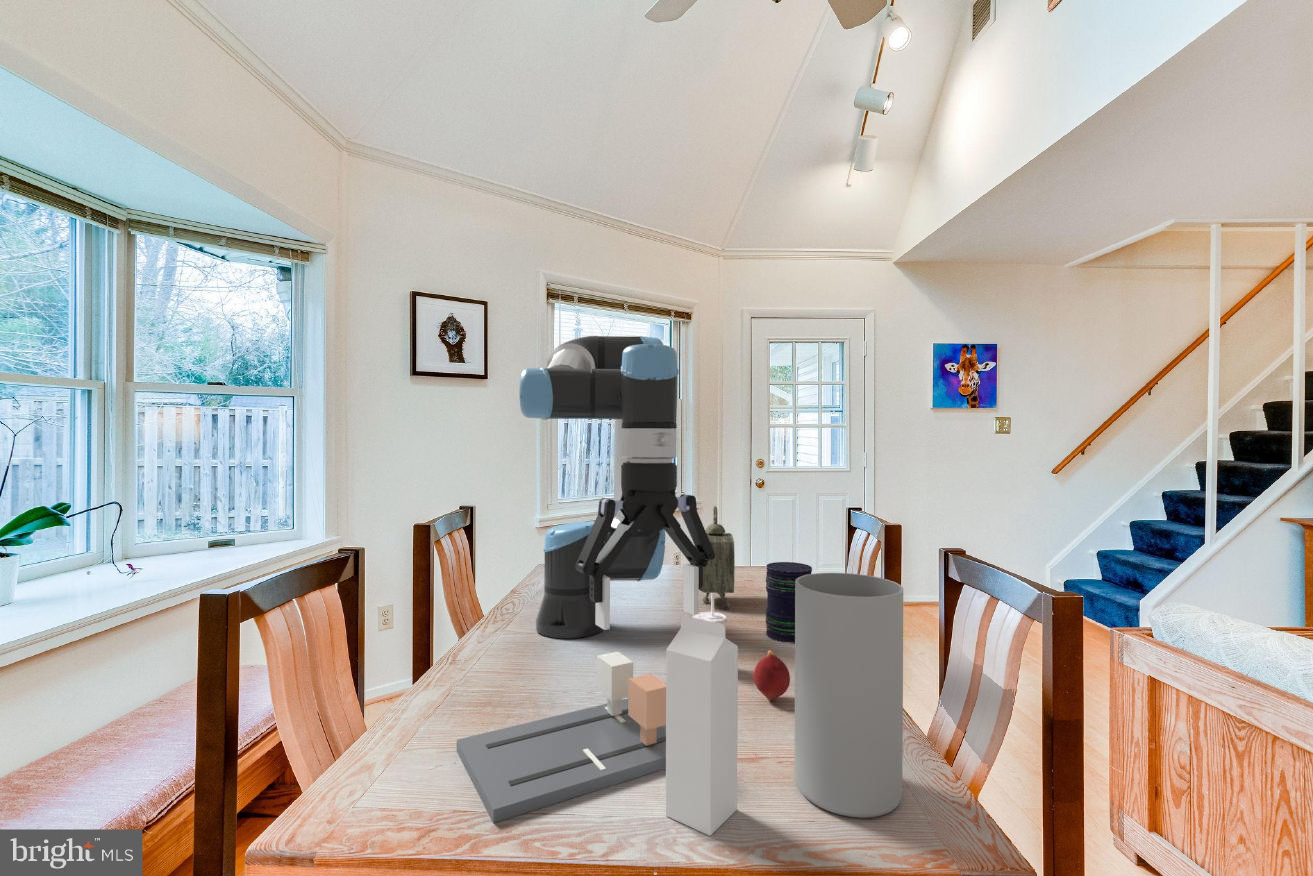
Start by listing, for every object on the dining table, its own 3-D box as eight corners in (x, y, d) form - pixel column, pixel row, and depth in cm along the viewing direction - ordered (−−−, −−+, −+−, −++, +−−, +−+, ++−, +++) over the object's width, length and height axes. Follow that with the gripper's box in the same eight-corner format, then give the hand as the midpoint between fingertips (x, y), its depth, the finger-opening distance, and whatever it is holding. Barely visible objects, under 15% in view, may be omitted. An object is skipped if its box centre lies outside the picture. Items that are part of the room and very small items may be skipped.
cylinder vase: (846, 834, 66) (847, 602, 66) (773, 776, 77) (774, 578, 77) (925, 802, 72) (926, 589, 72) (847, 753, 83) (848, 569, 83)
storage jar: (760, 639, 129) (761, 569, 129) (770, 626, 139) (770, 560, 139) (808, 645, 126) (809, 573, 126) (815, 631, 135) (815, 564, 135)
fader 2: (628, 737, 83) (628, 678, 83) (650, 730, 85) (650, 673, 85) (646, 753, 79) (646, 691, 79) (669, 746, 81) (669, 686, 81)
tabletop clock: (734, 611, 150) (734, 509, 150) (697, 611, 150) (697, 509, 150) (728, 596, 165) (728, 503, 165) (694, 595, 165) (695, 503, 165)
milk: (694, 792, 74) (695, 609, 74) (738, 810, 70) (739, 618, 70) (664, 817, 69) (665, 620, 69) (710, 838, 65) (711, 631, 65)
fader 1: (596, 708, 92) (596, 655, 92) (617, 703, 94) (617, 651, 94) (611, 722, 88) (611, 666, 88) (632, 716, 89) (633, 662, 89)
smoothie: (725, 676, 109) (725, 598, 109) (689, 673, 110) (689, 596, 110) (728, 663, 115) (728, 589, 115) (694, 661, 117) (694, 587, 117)
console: (456, 750, 83) (456, 738, 83) (637, 705, 97) (637, 695, 97) (493, 823, 67) (493, 808, 67) (702, 756, 82) (702, 744, 82)
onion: (791, 695, 101) (791, 647, 101) (787, 710, 96) (787, 659, 96) (756, 690, 103) (756, 643, 103) (750, 704, 98) (750, 654, 98)
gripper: (573, 463, 73) (572, 642, 72) (740, 460, 85) (739, 613, 85) (551, 461, 79) (550, 625, 79) (708, 459, 92) (708, 600, 92)
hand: (648, 619), depth 82 cm, fingers open, 13 cm apart
